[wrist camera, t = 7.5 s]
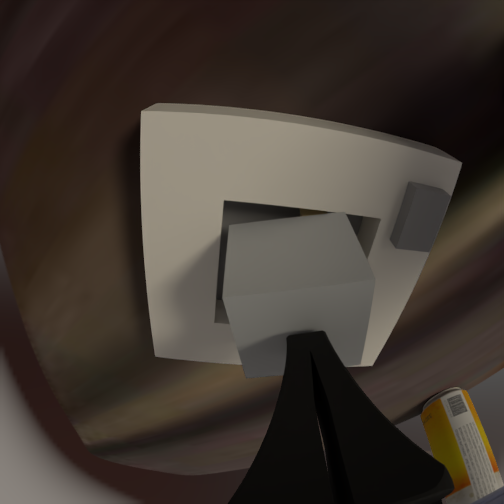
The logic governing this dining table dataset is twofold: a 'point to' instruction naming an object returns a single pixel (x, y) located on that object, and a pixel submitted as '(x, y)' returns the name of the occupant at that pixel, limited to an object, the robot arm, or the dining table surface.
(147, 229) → the socket
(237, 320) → the plug
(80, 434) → the dining table surface
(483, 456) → the yellow supplement bottle
